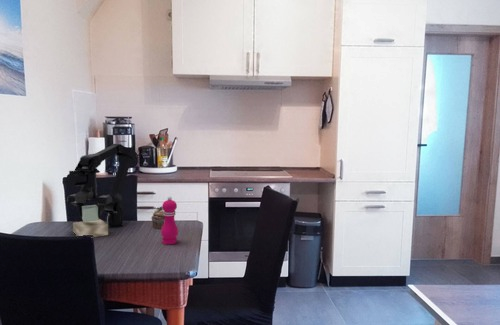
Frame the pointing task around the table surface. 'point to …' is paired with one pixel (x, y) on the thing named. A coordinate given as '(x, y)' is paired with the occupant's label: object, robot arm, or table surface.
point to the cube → (90, 213)
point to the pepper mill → (169, 222)
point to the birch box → (90, 228)
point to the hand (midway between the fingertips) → (90, 217)
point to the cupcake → (158, 218)
